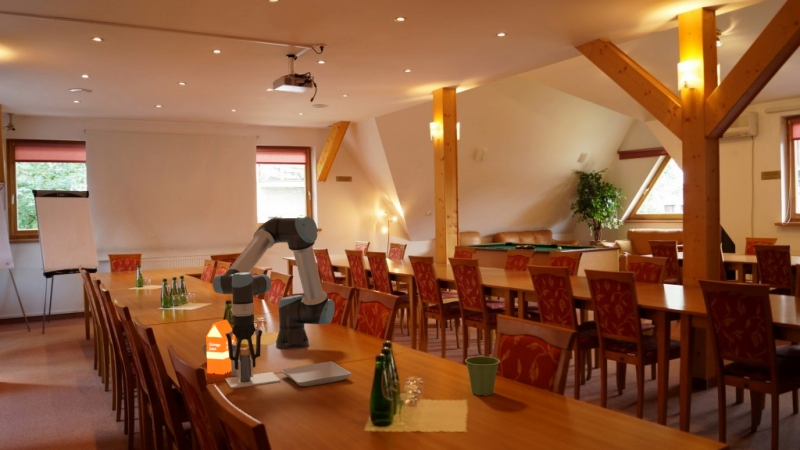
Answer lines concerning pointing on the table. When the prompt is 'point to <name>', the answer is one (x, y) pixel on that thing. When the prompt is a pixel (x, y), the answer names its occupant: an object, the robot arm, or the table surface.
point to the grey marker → (233, 370)
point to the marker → (245, 364)
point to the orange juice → (218, 348)
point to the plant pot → (482, 374)
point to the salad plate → (316, 373)
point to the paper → (253, 380)
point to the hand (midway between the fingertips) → (245, 377)
